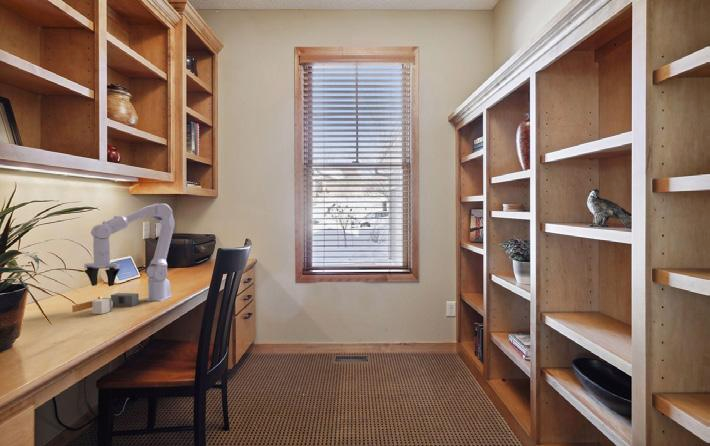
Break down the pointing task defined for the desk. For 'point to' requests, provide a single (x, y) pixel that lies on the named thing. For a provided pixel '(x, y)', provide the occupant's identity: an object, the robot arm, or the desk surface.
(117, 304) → the socket block
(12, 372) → the desk surface
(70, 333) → the desk surface
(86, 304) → the orange long bar
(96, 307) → the plug
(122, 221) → the robot arm
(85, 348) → the desk surface
